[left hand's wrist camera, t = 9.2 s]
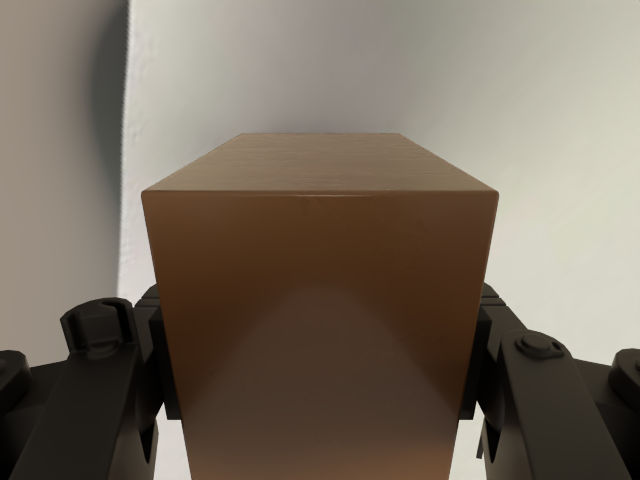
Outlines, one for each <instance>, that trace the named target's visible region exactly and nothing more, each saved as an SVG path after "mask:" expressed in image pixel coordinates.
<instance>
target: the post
mask: <svg viewBox="0 0 640 480" xmlns="http://www.w3.org/2000/svg"><path fill="white" fill-rule="evenodd" d="M141 199H142V205H143V210H144V216H145V221H146V227H147V233H148V238H149V244H150V249H151V255H152V261H153V266H154V272H155V277H156V283H157V289H158V294H159V300H160V305H161V311H162V317H163V322H164V328H165V333H166V339H167V345H168V350H169V356H170V361H171V367H172V372H173V378H174V384H175V389H176V395H177V400H178V406H179V412H180V417H181V423H182V428H183V434H184V440H185V445H186V451H187V456H188V462H189V468H190V473H191V479H192V480H449V474H450V468H451V463H452V457H453V452H454V446H455V440H456V435H457V429H458V424H459V418H460V412H461V407H462V401H463V396H464V390H465V385H466V379H467V373H468V368H469V362H470V357H471V351H472V345H473V340H474V334H475V329H476V323H477V317H478V312H479V306H480V301H481V295H482V289H483V284H484V278H485V273H486V267H487V261H488V256H489V250H490V245H491V239H492V233H493V228H494V222H495V217H496V211H497V206H498V200H499V193H498V191H496V190H494V189H493V188H491V187H489V186H488V185H486V184H484V183H483V182H481V181H479V180H477V179H476V178H474V177H472V176H471V175H469V174H467V173H465V172H464V171H462V170H460V169H459V168H457V167H455V166H454V165H452V164H450V163H448V162H447V161H445V160H443V159H442V158H440V157H438V156H436V155H435V154H433V153H431V152H430V151H428V150H426V149H424V148H423V147H421V146H419V145H418V144H416V143H414V142H413V141H411V140H409V139H407V138H406V137H404V136H402V135H401V134H398V133H242V134H240V135H238V136H237V137H235V138H233V139H231V140H230V141H228V142H226V143H225V144H223V145H221V146H219V147H218V148H216V149H214V150H213V151H211V152H209V153H207V154H206V155H204V156H202V157H200V158H199V159H197V160H195V161H194V162H192V163H190V164H188V165H187V166H185V167H183V168H182V169H180V170H178V171H176V172H175V173H173V174H171V175H170V176H168V177H166V178H164V179H163V180H161V181H159V182H158V183H156V184H154V185H152V186H151V187H149V188H147V189H145V190H144V191H142V193H141Z"/></svg>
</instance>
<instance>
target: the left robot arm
mask: <svg viewBox="0 0 640 480" xmlns="http://www.w3.org/2000/svg"><path fill="white" fill-rule="evenodd" d="M60 322H61V325H62V329H63V332H64V335H65V339H66V342H67V346H68V349H69V352H70V354H69V356H68V358H67V360H65V361H61V362H56V363H51V364H46V365H41V366H36V367H30V368H29V365H28V362H27V359H26V356H25V355H24V354H22V353H21V352H19V351H13V350H5V351H0V480H153V478H154V469H155V461H156V452H157V443H158V435H159V433H158V426H157V421H156V416H157V414H158V412H159V410H160V408H161V406H162V404H163V402H164V405H165V410H166V415H167V420H181V417H180V412H179V406H178V400H177V395H176V389H175V384H174V378H173V372H172V367H171V361H170V356H169V350H168V345H167V339H166V333H165V328H164V322H163V317H162V311H161V305H160V300H159V294H158V289H157V284H155V285H153V286H152V287H150V288H149V289H148V290H147V291H146V293H145V294H144V295H143V296H142V299H140V300H139V301H138V302H137V303H136V304H135V307H134V308H133V307H132V303H131V302H129V301H128V300H126V299H122V298H117V297H114V298H102V299H97V300H92V301H89V302H86V303H83V304H81V305H78V306H76V307H74V308H73V309H71V310H69V311H67V312H66V313H65V314H64V315H63V316H62V317H61V318H60ZM477 401H478V403H479V405H480V407H481V409H482V411H483V413H484V415H485V416H484V421H483V426H482V431H481V436H480V440H479V445H478V450H477V456H476V458H479V459H482V454H483V451H484V459H485V468H486V477H487V480H640V349H634V348H631V349H622V350H620V351H619V352H618V353H616V355H615V358H614V360H613V363H612V366H608V365H603V364H598V363H593V362H588V361H583V360H578V359H574V358H573V357H572V355H571V353H570V352H569V351H568V349H567V348H566V347H565V346H564V345H563V344H562V343H560V342H559V341H557V340H556V339H554V338H553V337H550V336H548V335H546V334H543V333H541V332H537V331H533V330H528V329H527V328H526V327H525V326H524V324H523V323H522V322H521V321H520V320H519V319H518V317H517V316H516V315H515V314H514V313H513V312H512V310H511V309H510V308H509V307H508V306H506V303H505V302H504V301H503V300H502V299H501V298H499V295H498V294H497V293H496V292H495V291H494V289H493V288H492V287H491V286H489V285H488V284H486V283H484V284H483V289H482V295H481V301H480V306H479V312H478V317H477V323H476V329H475V334H474V340H473V345H472V351H471V357H470V362H469V368H468V373H467V379H466V385H465V390H464V396H463V401H462V407H461V412H460V418H459V420H473V417H474V412H475V407H476V402H477Z"/></svg>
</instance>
